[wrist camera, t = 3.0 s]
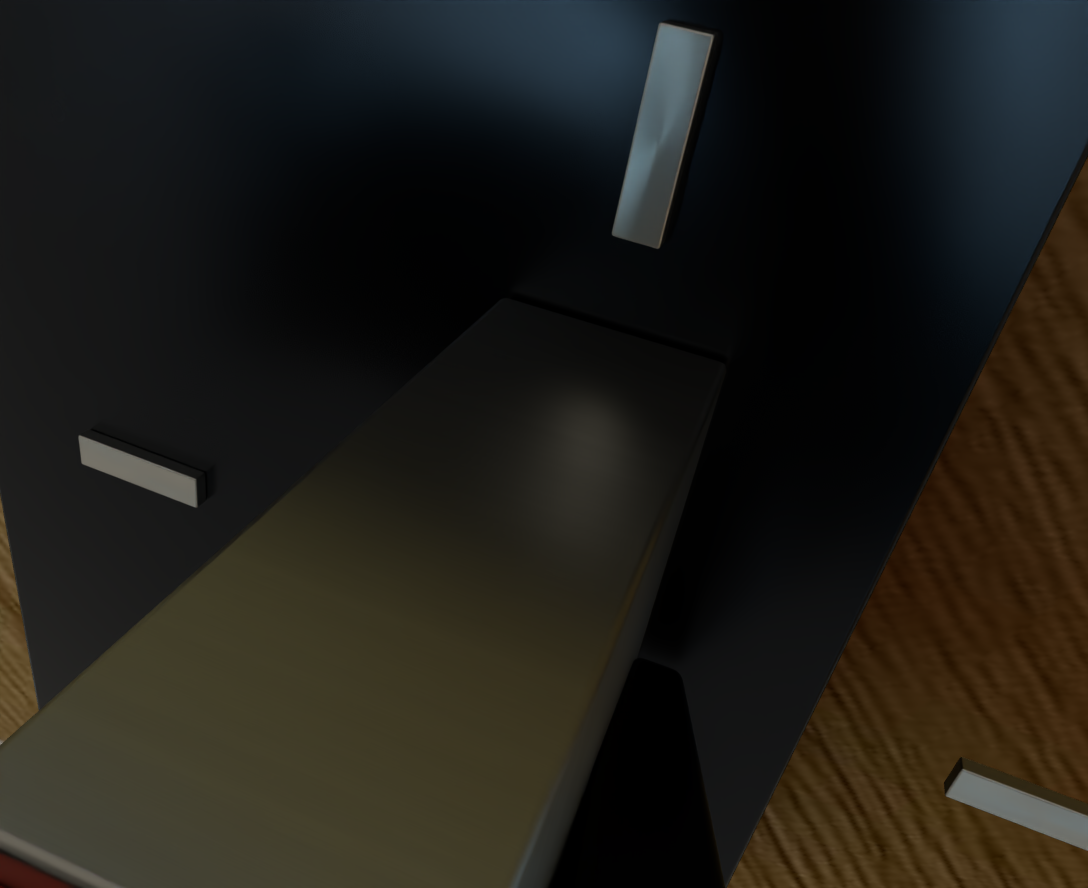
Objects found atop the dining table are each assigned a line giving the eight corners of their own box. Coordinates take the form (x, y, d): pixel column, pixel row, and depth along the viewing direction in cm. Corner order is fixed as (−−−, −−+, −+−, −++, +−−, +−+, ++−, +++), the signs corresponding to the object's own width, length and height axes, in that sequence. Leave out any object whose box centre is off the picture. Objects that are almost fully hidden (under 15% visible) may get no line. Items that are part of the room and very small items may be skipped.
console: (867, 914, 13) (860, 1157, 10) (185, 630, 15) (37, 772, 13) (1453, 22, 7) (1809, 71, 4) (142, -243, 9) (-170, -323, 6)
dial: (577, 850, 10) (320, 1579, 5) (427, 787, 10) (71, 1420, 6) (728, 361, 7) (407, 1163, 2) (502, 293, 7) (-156, 873, 3)
